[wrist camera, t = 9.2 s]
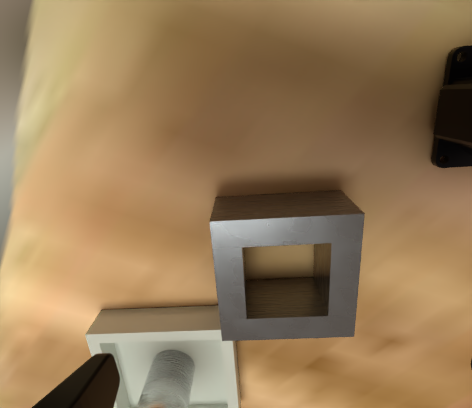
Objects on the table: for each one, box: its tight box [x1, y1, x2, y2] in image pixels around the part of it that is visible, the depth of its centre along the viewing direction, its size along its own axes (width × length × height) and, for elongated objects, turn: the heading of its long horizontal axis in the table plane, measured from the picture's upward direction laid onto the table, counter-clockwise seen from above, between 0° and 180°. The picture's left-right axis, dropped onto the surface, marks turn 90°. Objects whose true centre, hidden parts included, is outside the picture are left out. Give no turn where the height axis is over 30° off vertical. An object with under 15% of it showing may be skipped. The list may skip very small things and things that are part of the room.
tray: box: [85, 305, 241, 408], centre depth 23 cm, size 10×10×2 cm
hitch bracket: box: [210, 190, 364, 341], centre depth 19 cm, size 8×8×4 cm
